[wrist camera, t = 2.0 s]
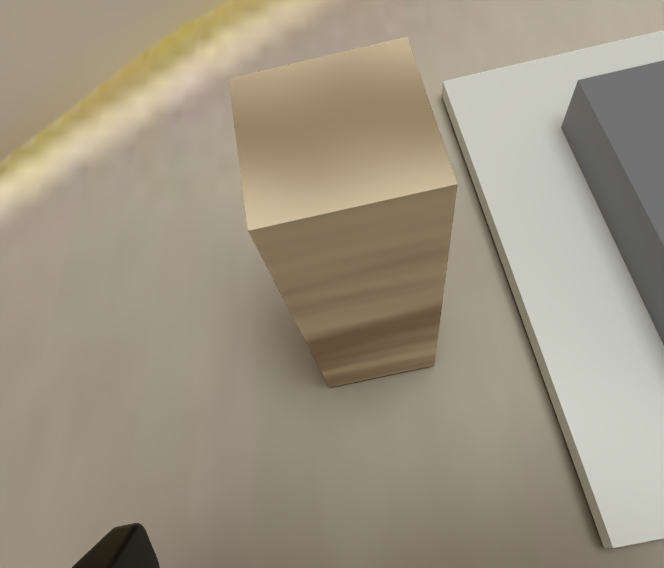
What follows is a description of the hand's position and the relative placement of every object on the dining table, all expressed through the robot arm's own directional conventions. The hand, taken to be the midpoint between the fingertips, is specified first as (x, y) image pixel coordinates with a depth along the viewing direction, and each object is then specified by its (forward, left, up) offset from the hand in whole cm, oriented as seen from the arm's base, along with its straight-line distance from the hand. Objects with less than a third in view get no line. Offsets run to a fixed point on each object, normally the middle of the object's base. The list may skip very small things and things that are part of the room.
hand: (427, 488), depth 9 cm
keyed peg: (+5, +6, -14) cm, 16 cm away
